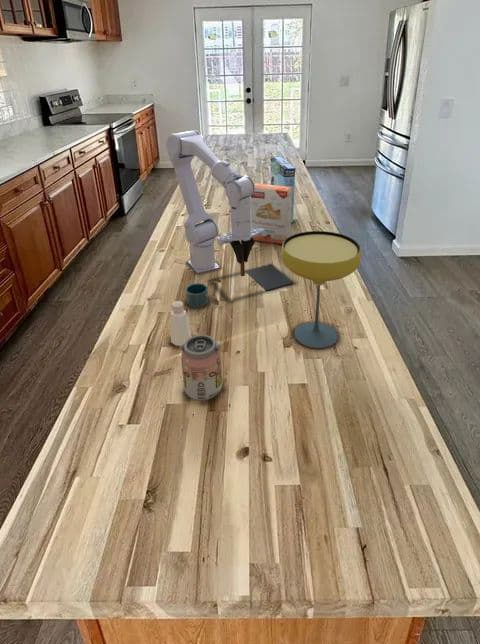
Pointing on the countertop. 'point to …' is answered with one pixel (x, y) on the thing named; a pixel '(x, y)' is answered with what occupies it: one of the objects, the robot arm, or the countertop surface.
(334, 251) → the cocktail glass
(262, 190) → the cracker box
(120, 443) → the countertop surface
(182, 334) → the pepper shaker
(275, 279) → the mat
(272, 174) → the blue upright flat box
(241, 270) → the stirring stick
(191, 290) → the espresso cup
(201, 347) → the beverage can
